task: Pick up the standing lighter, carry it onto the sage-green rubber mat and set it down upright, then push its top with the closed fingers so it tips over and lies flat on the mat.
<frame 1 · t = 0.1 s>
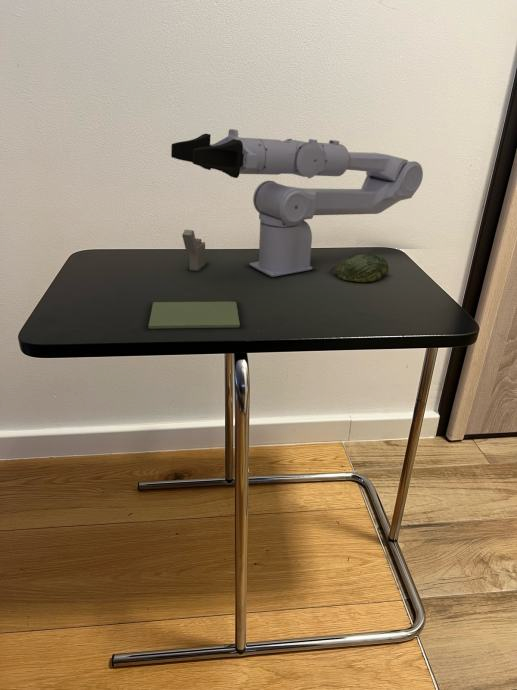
hand: (182, 153, 84), 22 cm above the table, tool horizontal, fingers open, 7 cm apart
green rounded dome: (360, 275, 102), on the table
lighter: (194, 270, 101), on the table
mat: (194, 315, 82), on the table
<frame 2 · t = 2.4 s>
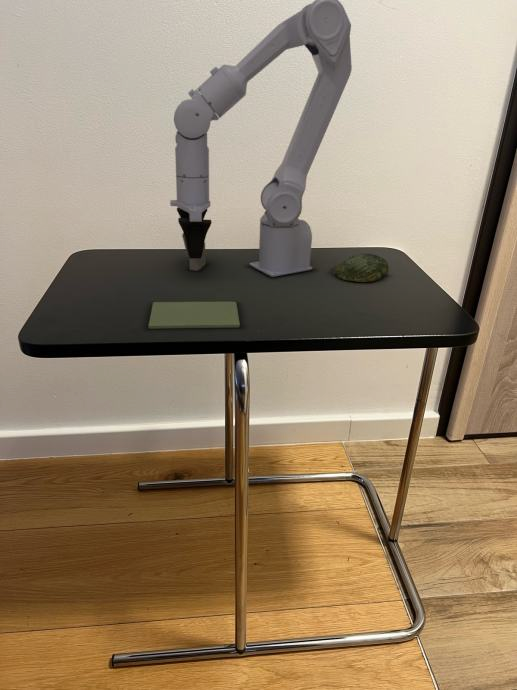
hand: (194, 251, 100), 3 cm above the table, tool pointing down, fingers open, 7 cm apart
lighter: (194, 270, 101), on the table, touching gripper
everything else where it was.
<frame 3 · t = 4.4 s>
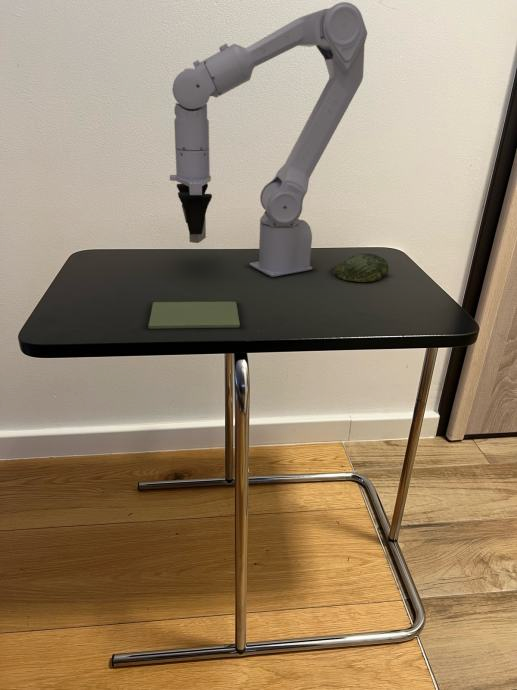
hand: (194, 228, 98), 8 cm above the table, tool pointing down, fingers closed on lighter, 7 cm apart
lighter: (194, 242, 99), point 5 cm above the table, touching gripper
everything else where it was.
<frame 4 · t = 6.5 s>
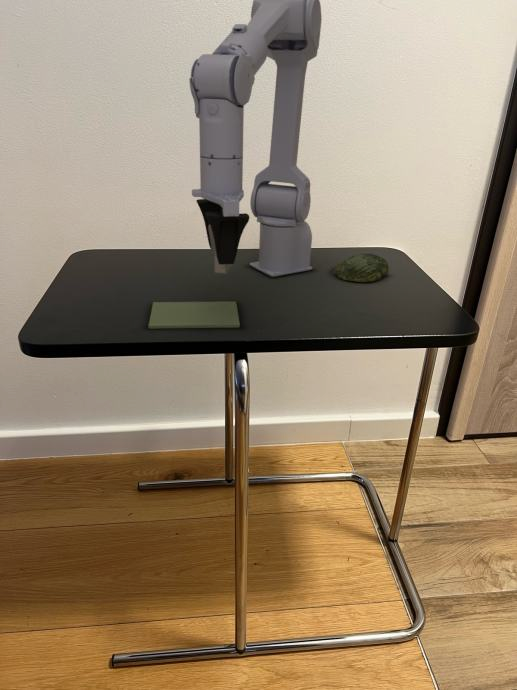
hand: (221, 255, 78), 9 cm above the table, tool pointing down, fingers closed on lighter, 7 cm apart
lighter: (220, 273, 79), point 7 cm above the table, touching gripper
everything else where it was.
when the fingers open (3 cm above the table, at t = 9.8 s): lighter stays where it is, resting on mat.
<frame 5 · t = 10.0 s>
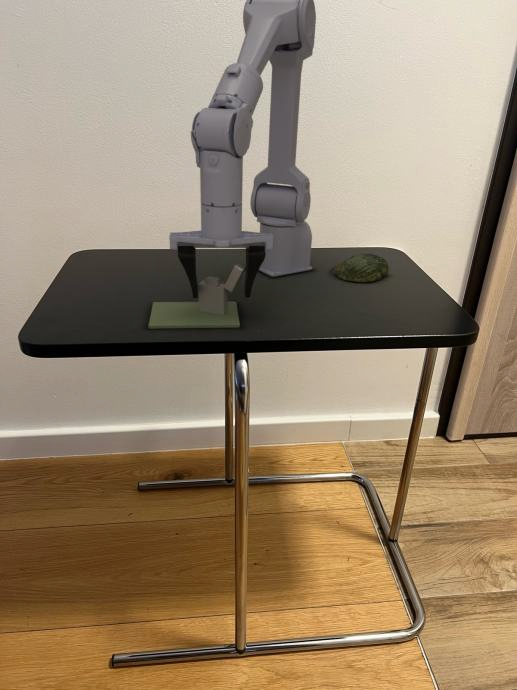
hand: (221, 295, 81), 3 cm above the table, tool pointing down, fingers open, 7 cm apart
lighter: (222, 313, 82), resting on mat, touching gripper
everything else where it was.
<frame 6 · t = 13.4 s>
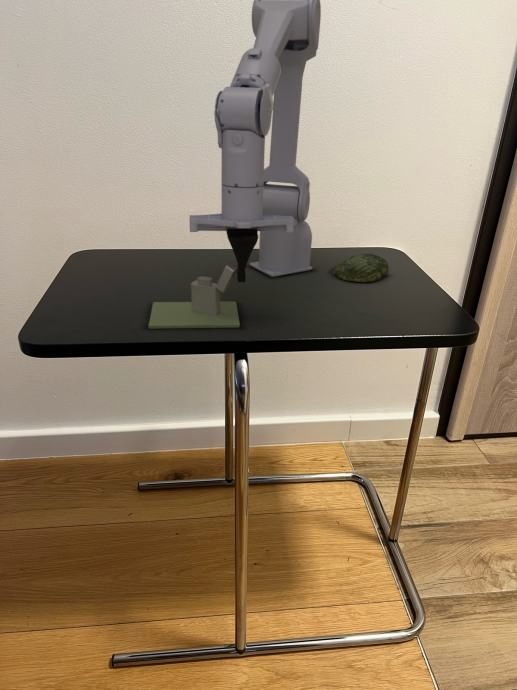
hand: (240, 280, 79), 6 cm above the table, tool pointing down, fingers closed, pressing on lighter
lighter: (215, 313, 82), resting on mat, touching gripper
everything else where it was.
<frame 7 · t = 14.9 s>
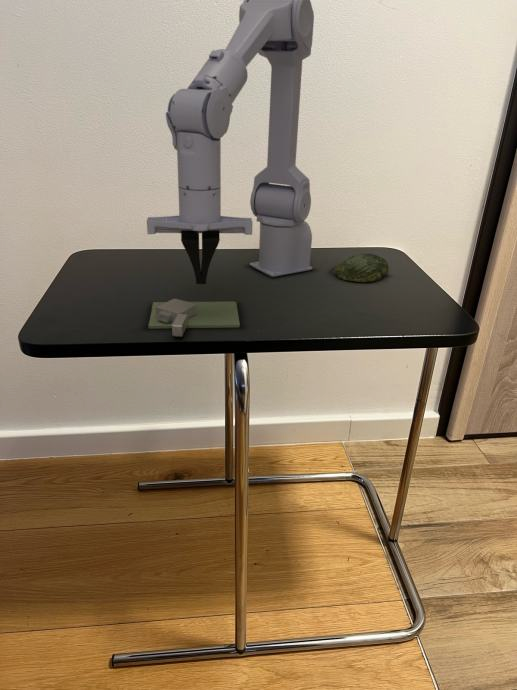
hand: (201, 281, 79), 5 cm above the table, tool pointing down, fingers closed
lighter: (193, 308, 81), point 1 cm above the table, touching mat
everything else where it was.
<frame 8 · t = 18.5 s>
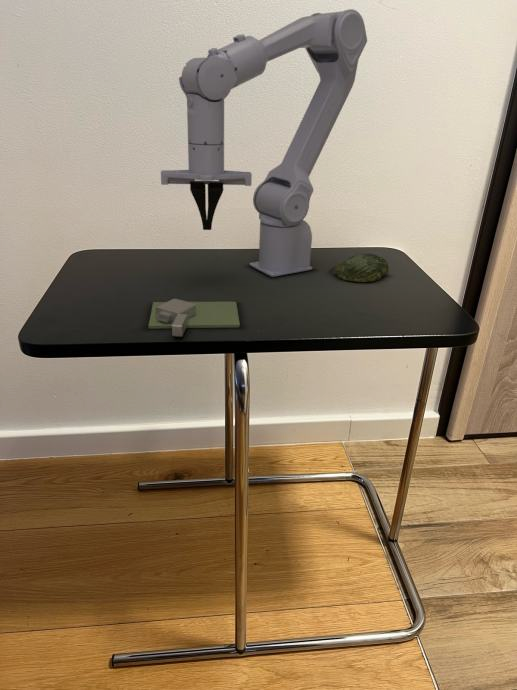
hand: (207, 228, 92), 9 cm above the table, tool pointing down, fingers closed
nothing on the table moved.
at the end: lighter tilted 90°; lighter inside the target area on the mat (0.4 cm from its centre), point 1.4 cm above the mat's base; the gripper is holding nothing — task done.
